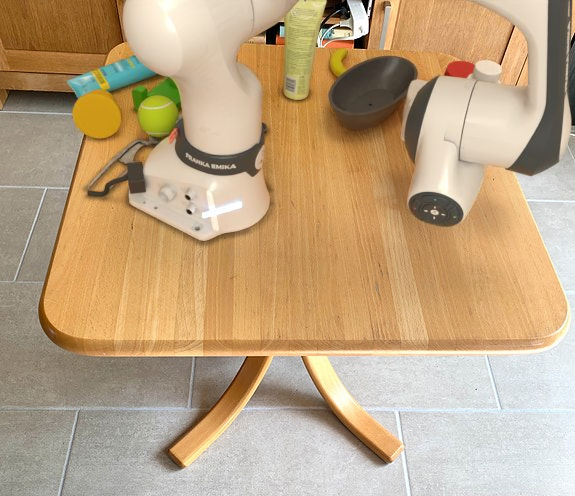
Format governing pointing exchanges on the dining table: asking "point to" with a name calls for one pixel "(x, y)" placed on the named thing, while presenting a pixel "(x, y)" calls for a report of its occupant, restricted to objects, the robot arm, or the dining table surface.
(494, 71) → the pill bottle
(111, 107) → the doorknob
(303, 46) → the tube
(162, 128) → the tennis ball
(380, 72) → the bowl
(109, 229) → the dining table surface
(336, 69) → the fruit
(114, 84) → the tube
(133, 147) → the nutcracker
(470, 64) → the lid
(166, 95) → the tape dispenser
